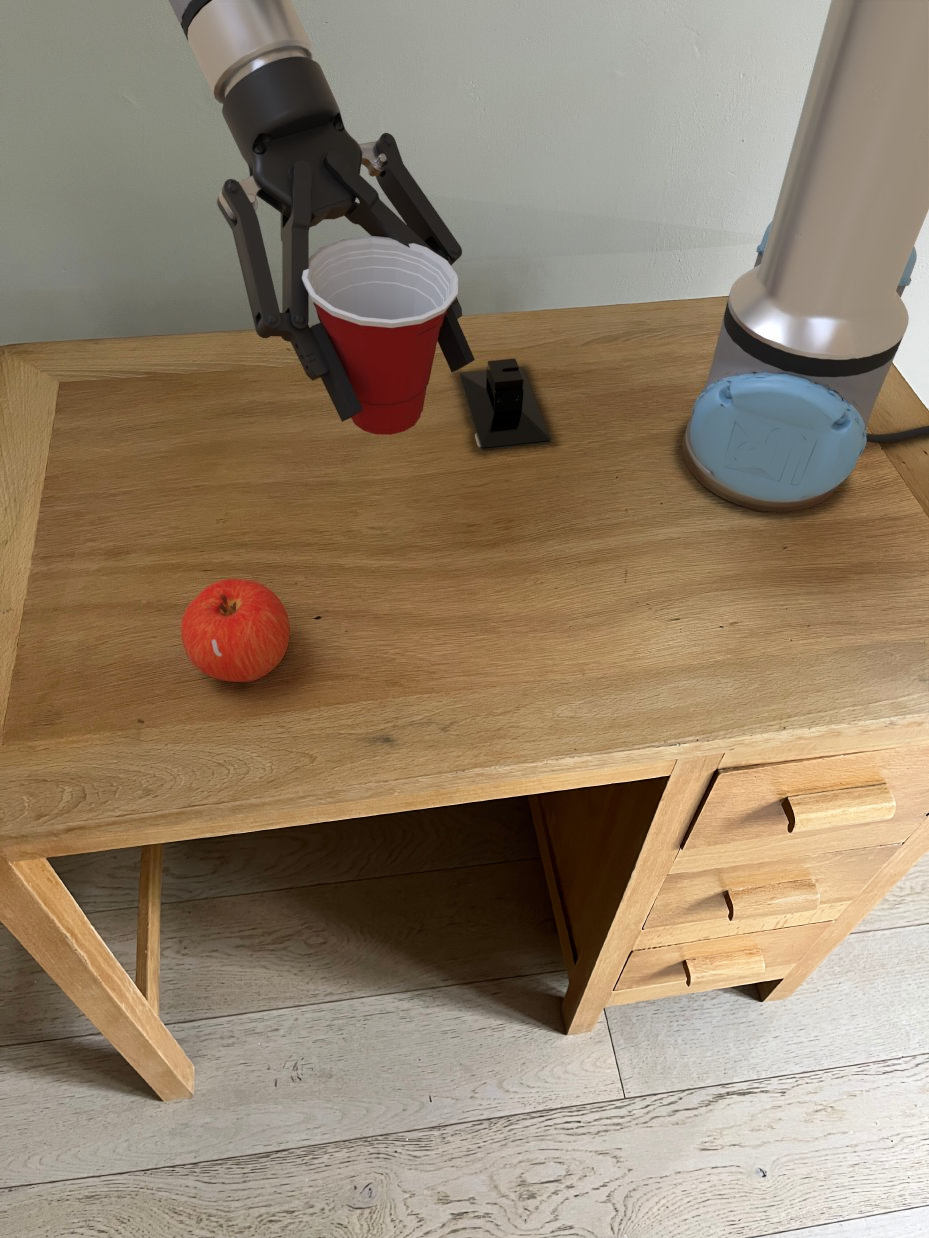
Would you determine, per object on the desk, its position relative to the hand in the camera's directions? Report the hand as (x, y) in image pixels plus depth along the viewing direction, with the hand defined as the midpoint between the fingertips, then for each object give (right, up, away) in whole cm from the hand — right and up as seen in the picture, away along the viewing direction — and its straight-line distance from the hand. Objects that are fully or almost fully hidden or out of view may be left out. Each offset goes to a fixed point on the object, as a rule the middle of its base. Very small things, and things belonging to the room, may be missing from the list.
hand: (409, 390), depth 64 cm
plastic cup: (-2, -1, +5) cm, 5 cm away
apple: (-13, -20, +4) cm, 25 cm away
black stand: (+8, +5, +25) cm, 27 cm away
